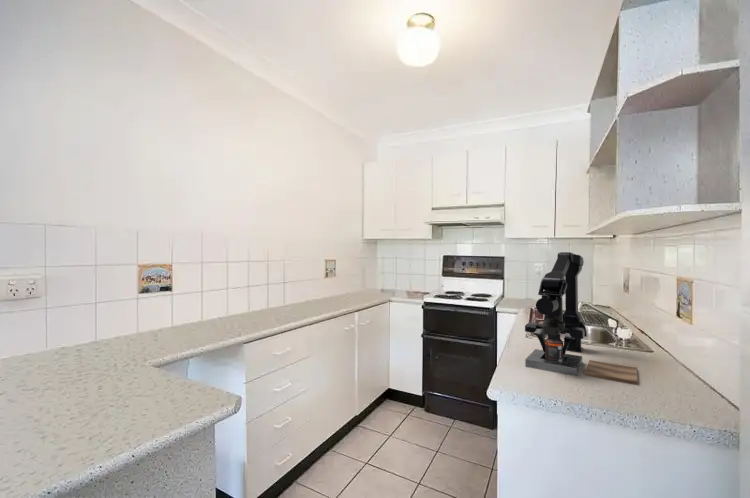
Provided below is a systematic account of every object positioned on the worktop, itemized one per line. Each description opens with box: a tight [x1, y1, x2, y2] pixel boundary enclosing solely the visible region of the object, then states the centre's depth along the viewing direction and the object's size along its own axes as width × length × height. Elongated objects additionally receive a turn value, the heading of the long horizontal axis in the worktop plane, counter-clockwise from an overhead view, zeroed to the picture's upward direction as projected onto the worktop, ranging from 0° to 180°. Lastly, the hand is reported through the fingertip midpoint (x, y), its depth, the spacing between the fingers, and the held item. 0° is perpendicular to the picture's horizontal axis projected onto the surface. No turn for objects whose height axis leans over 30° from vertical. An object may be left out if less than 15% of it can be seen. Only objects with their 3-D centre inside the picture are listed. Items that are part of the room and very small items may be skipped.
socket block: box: [524, 348, 583, 376], centre depth 124 cm, size 16×16×2 cm
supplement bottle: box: [545, 333, 564, 362], centre depth 124 cm, size 6×6×11 cm
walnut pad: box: [584, 359, 639, 386], centre depth 116 cm, size 16×14×1 cm
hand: (554, 353), depth 124 cm, fingers closed on supplement bottle, 6 cm apart
